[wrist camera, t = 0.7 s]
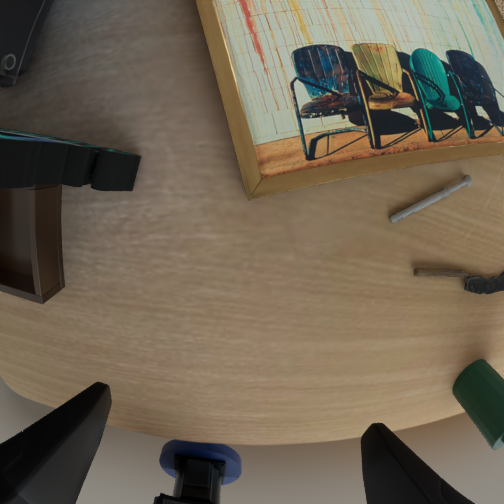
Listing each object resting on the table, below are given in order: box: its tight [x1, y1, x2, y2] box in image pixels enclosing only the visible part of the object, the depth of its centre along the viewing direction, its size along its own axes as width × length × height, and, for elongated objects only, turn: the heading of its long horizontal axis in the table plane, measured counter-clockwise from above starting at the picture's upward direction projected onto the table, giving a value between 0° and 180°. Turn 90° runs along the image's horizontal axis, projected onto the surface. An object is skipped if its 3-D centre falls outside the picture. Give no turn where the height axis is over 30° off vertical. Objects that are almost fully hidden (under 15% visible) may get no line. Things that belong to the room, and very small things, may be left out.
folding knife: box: [464, 271, 504, 294], centre depth 22 cm, size 13×1×2 cm
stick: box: [414, 268, 471, 277], centre depth 21 cm, size 7×1×1 cm, turn 86°
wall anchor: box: [389, 175, 472, 223], centre depth 19 cm, size 1×9×1 cm
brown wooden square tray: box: [0, 184, 65, 304], centre depth 18 cm, size 9×9×4 cm
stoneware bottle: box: [453, 359, 504, 450], centre depth 19 cm, size 6×6×14 cm
